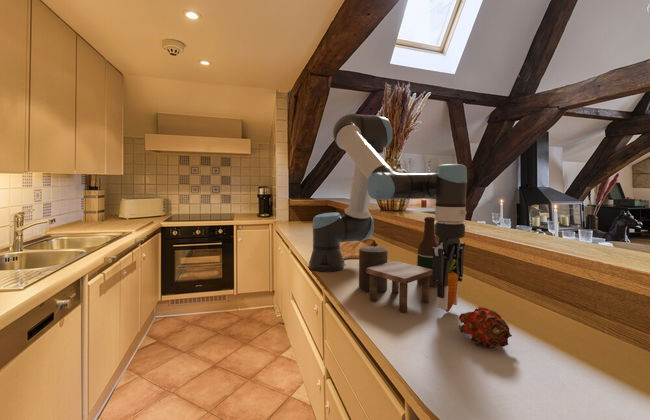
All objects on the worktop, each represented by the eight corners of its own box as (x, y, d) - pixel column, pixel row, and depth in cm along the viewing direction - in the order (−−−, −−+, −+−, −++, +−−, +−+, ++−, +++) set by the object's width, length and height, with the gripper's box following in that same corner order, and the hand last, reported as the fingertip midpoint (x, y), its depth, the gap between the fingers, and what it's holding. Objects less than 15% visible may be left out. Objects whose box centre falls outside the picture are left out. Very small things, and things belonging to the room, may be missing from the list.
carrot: (433, 309, 85) (435, 257, 84) (446, 307, 87) (448, 255, 86) (446, 317, 80) (448, 261, 79) (460, 313, 82) (462, 259, 81)
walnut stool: (366, 299, 93) (366, 268, 92) (394, 289, 102) (394, 260, 101) (404, 314, 82) (404, 278, 82) (432, 302, 91) (433, 269, 91)
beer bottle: (436, 281, 111) (438, 216, 110) (442, 288, 104) (444, 218, 102) (414, 280, 112) (416, 216, 110) (419, 287, 104) (420, 218, 103)
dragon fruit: (509, 366, 61) (460, 346, 72) (528, 334, 64) (478, 320, 75) (489, 337, 60) (442, 321, 70) (509, 305, 63) (461, 295, 74)
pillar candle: (364, 294, 98) (364, 248, 97) (355, 284, 108) (355, 243, 107) (392, 291, 100) (392, 247, 99) (380, 282, 110) (381, 242, 109)
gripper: (446, 226, 73) (443, 319, 75) (478, 220, 84) (475, 302, 86) (418, 223, 79) (416, 310, 81) (453, 218, 90) (450, 294, 92)
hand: (447, 305), depth 83 cm, fingers closed on carrot, 5 cm apart
